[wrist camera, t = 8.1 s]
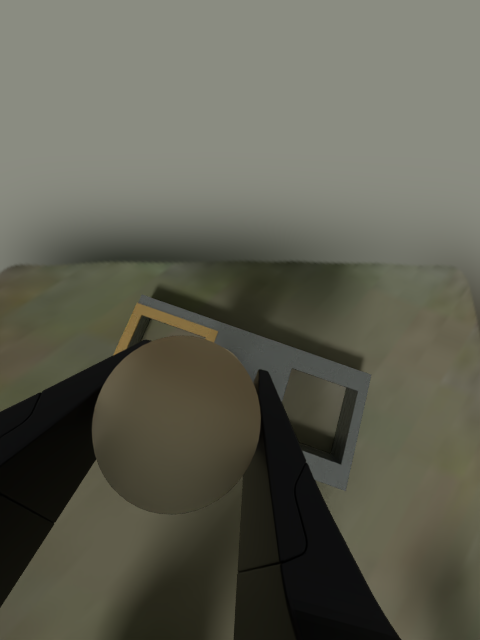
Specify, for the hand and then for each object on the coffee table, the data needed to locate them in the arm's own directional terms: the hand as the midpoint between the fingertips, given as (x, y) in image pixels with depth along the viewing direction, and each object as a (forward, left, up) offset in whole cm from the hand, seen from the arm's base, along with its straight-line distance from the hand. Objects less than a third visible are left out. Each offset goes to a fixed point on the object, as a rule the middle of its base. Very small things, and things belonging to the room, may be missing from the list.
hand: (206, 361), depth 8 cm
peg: (-1, -1, -7) cm, 7 cm away
